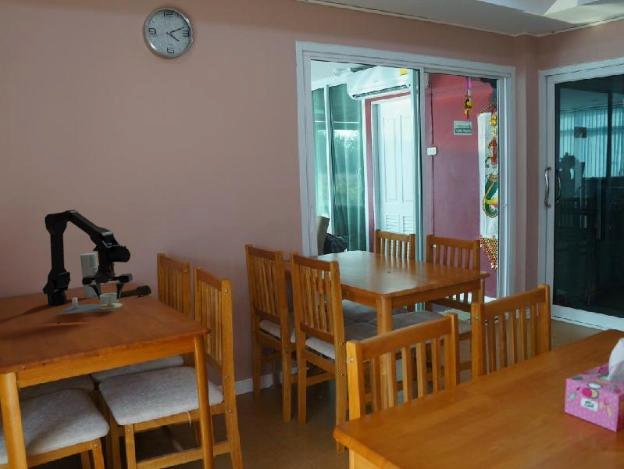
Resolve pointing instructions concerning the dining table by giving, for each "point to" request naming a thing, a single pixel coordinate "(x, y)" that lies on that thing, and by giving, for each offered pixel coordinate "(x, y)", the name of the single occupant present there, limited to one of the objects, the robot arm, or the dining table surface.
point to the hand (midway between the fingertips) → (109, 300)
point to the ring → (108, 298)
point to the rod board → (90, 307)
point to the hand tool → (136, 291)
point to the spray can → (88, 272)
